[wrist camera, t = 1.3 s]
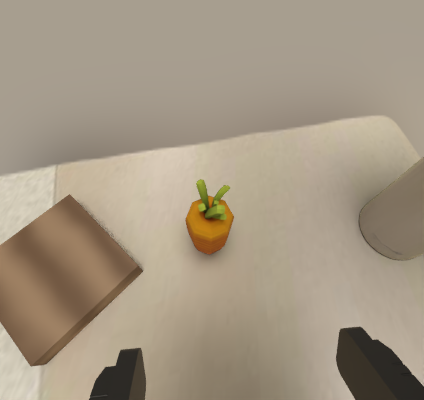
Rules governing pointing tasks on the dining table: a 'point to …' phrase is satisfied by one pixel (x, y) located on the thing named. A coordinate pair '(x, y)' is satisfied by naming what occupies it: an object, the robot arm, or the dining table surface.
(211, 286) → the dining table surface
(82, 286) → the walnut plinth
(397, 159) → the dining table surface
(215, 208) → the carrot
